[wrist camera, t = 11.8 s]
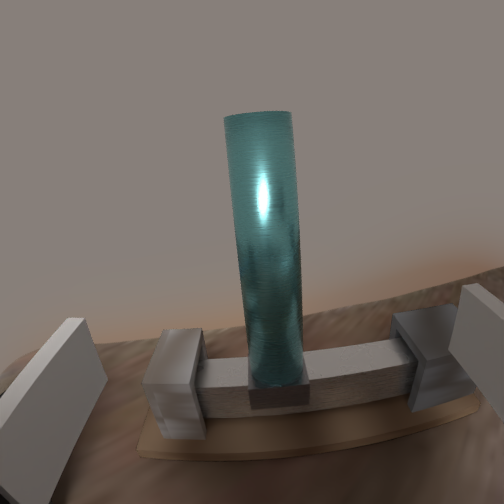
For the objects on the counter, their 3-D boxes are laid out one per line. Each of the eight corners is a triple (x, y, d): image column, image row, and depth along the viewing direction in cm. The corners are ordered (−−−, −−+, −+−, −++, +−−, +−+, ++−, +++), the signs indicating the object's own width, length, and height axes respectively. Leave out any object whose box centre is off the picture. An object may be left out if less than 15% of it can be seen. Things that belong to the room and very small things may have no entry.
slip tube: (399, 364, 24) (415, 117, 18) (417, 394, 20) (448, 114, 14) (184, 387, 24) (135, 134, 18) (176, 422, 21) (109, 133, 14)
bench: (433, 351, 27) (445, 291, 25) (476, 411, 18) (503, 345, 16) (162, 382, 27) (145, 322, 25) (140, 457, 19) (108, 395, 17)
